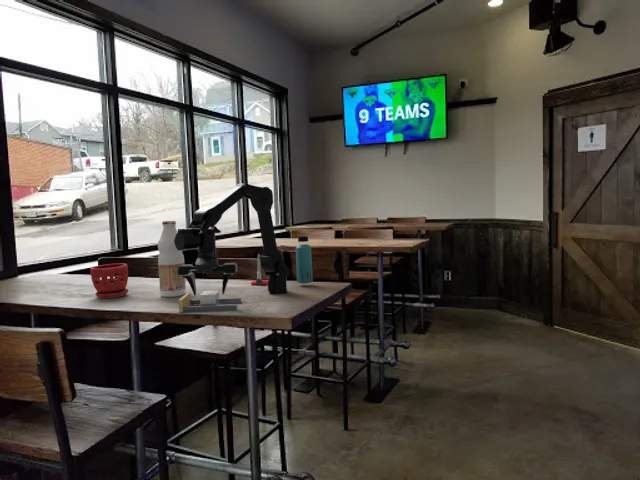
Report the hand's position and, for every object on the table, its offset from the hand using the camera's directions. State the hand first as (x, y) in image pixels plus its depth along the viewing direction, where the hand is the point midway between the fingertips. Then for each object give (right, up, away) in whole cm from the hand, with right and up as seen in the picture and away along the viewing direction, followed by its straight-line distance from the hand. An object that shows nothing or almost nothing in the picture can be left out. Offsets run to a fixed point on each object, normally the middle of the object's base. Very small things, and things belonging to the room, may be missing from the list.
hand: (209, 294), depth 166 cm
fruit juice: (-19, -3, +25) cm, 31 cm away
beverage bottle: (+31, -1, +35) cm, 47 cm away
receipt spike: (+12, 0, +45) cm, 46 cm away
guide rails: (+1, -4, 0) cm, 4 cm away
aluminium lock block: (0, -4, 0) cm, 4 cm away
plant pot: (-43, -4, +26) cm, 50 cm away
